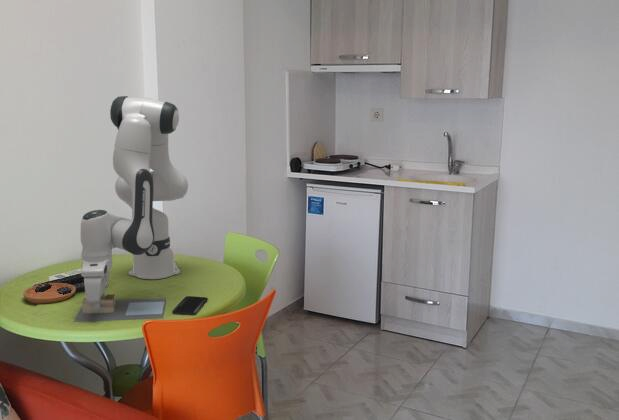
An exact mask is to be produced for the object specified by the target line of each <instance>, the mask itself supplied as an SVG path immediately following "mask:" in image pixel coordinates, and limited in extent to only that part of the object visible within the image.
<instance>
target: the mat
mask: <svg viewBox="0 0 619 420" xmlns="http://www.w3.org/2000/svg"><path fill="white" fill-rule="evenodd" d="M166 304H167V297H163V298H162V297H160V298H135V299H134V298H133V299H115V309H114V312H113V313H86V314H83V308H82V306H81V307H80V309H79V310H78V313H77V314H76V316H75V318H74V320H73V323H77V322H78V323H80V322H81V323H82V322H83V323H84V322H103V321H104V322H105V321H108V322H109V321H128V320H129V321H130V320H131V321H132V320H133V321H135V320H155V319H156V320H157V319H162V320H163V319H164V317H165V311H166Z"/></svg>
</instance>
